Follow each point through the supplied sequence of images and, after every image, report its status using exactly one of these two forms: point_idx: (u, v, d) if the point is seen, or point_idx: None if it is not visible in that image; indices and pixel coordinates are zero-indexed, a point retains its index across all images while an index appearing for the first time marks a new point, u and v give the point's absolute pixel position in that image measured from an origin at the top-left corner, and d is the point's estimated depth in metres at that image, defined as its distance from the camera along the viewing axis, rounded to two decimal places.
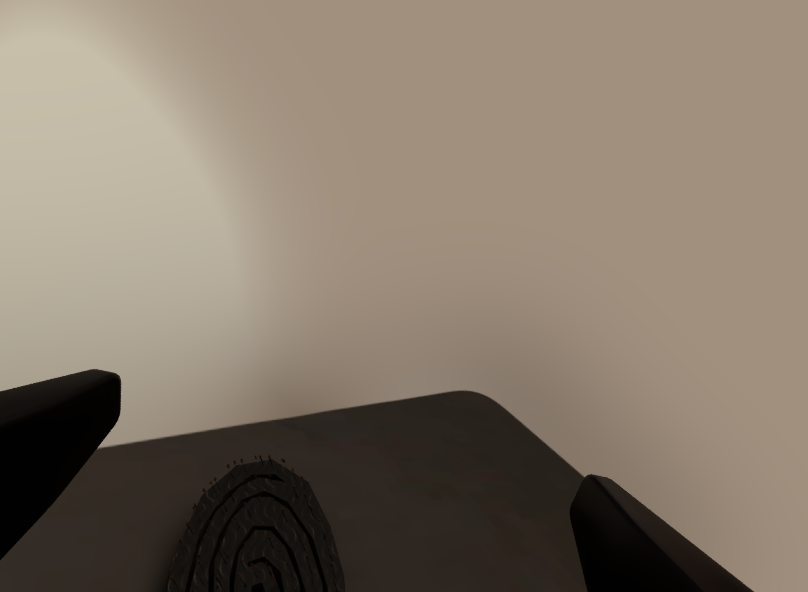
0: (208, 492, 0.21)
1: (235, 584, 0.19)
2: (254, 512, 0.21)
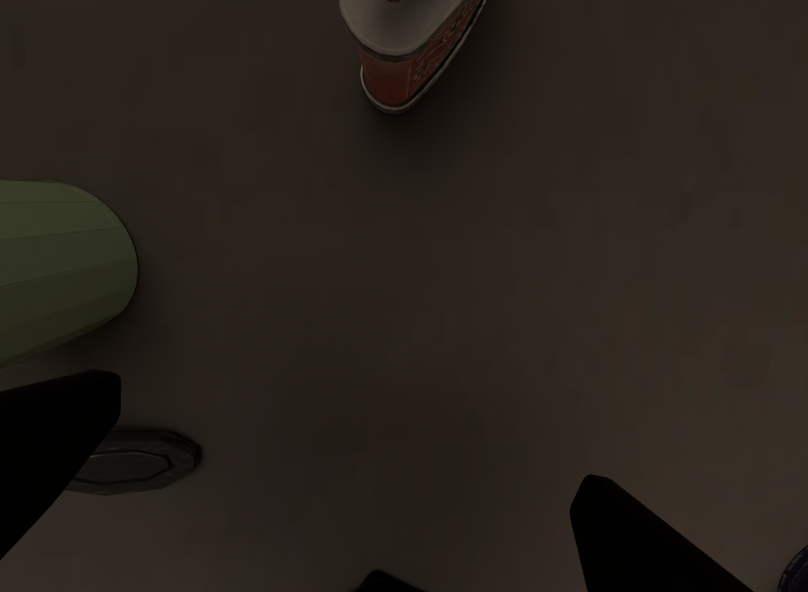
0: None
1: None
2: None
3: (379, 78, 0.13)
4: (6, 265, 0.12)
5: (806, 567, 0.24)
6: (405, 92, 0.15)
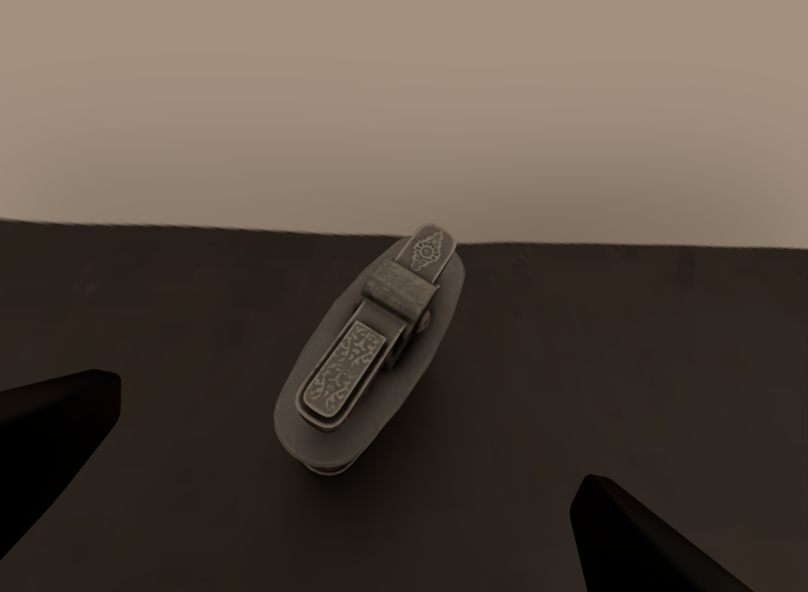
0: None
1: None
2: None
3: None
4: None
5: None
6: None
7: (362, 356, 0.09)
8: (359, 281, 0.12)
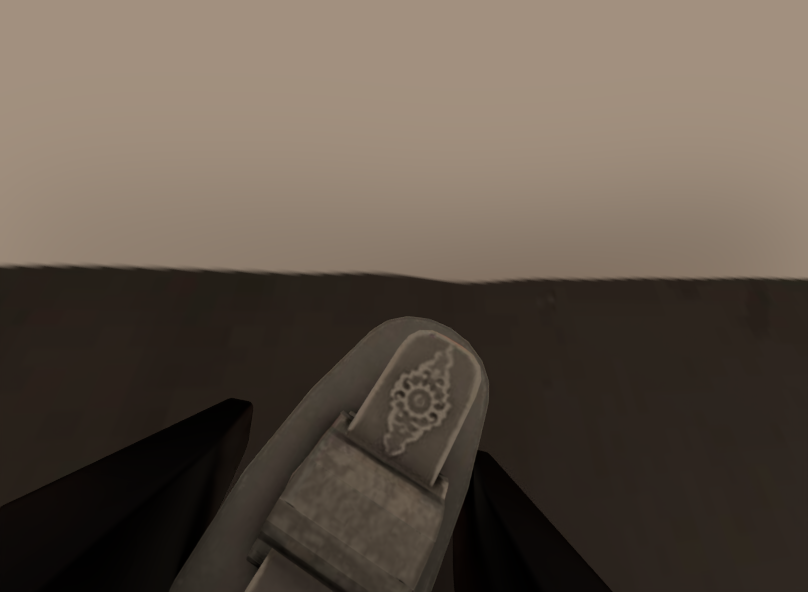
0: None
1: None
2: None
3: None
4: None
5: None
6: None
7: None
8: (297, 417, 0.07)
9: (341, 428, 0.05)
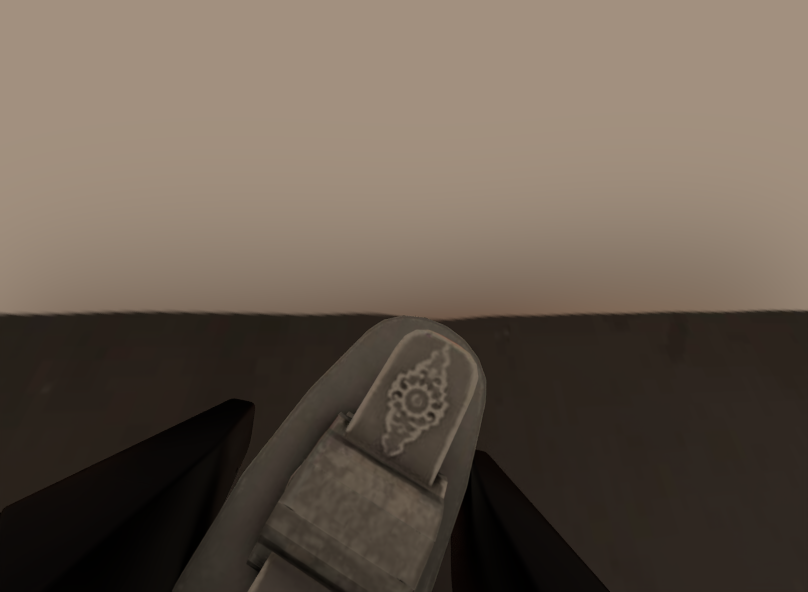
0: None
1: None
2: None
3: None
4: None
5: None
6: None
7: None
8: (295, 419, 0.07)
9: (339, 430, 0.05)
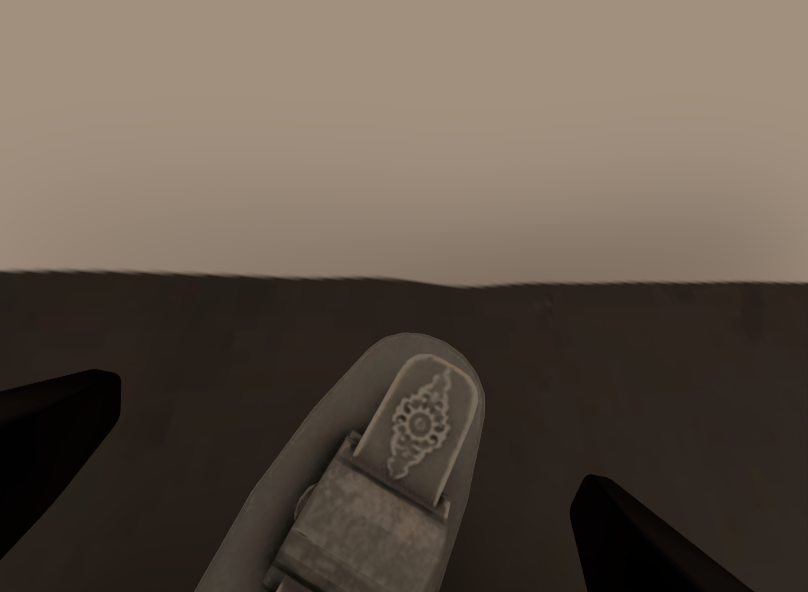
0: None
1: None
2: None
3: None
4: None
5: None
6: None
7: None
8: (301, 437, 0.07)
9: (346, 454, 0.05)
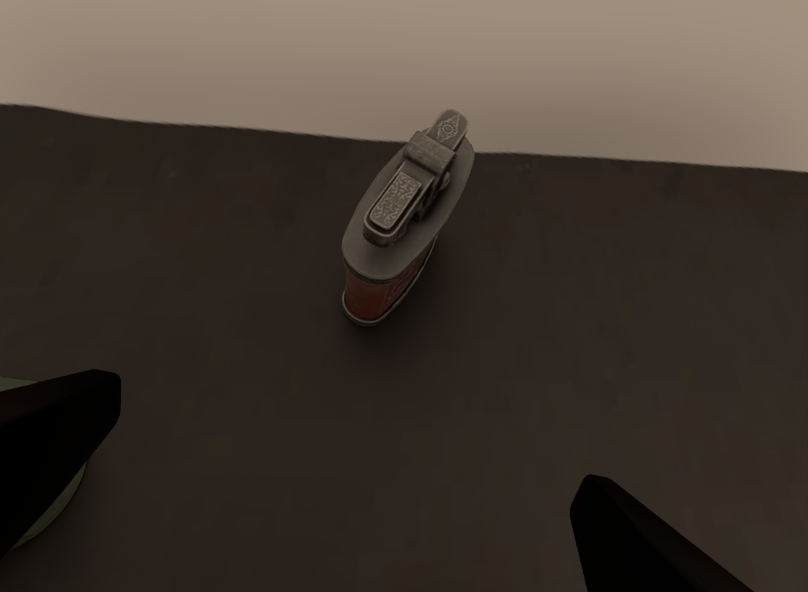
0: None
1: None
2: None
3: (363, 298, 0.17)
4: None
5: None
6: (380, 308, 0.19)
7: (406, 193, 0.13)
8: (395, 160, 0.16)
9: None
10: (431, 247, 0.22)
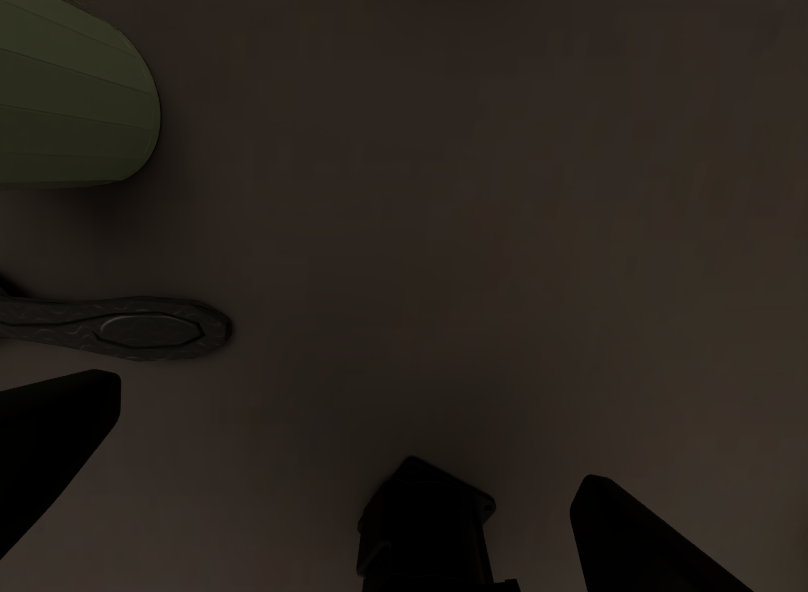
0: None
1: None
2: None
3: None
4: (19, 33, 0.11)
5: None
6: None
7: None
8: None
9: None
10: None
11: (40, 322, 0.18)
